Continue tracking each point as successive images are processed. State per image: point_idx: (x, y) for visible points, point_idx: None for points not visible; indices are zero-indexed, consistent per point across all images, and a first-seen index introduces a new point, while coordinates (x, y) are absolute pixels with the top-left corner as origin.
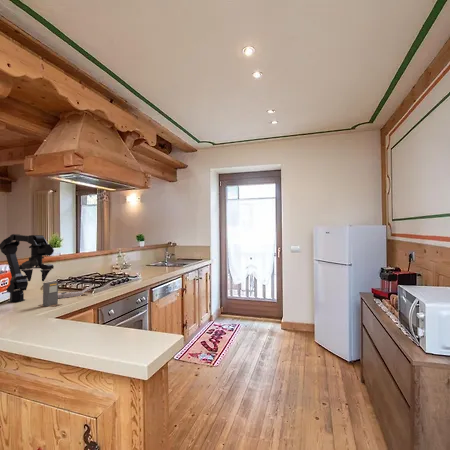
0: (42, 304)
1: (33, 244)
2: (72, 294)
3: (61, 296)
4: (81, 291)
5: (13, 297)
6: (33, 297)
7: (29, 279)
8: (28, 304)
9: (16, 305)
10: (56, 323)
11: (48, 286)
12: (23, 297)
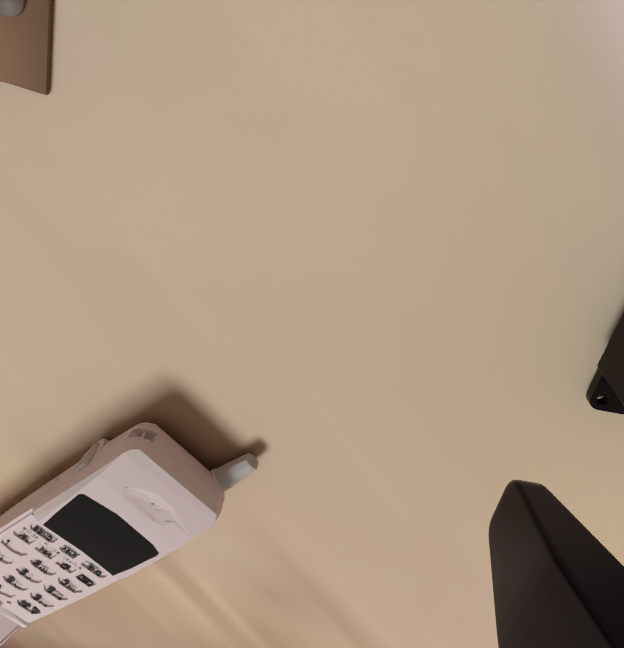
0: (36, 3)
1: None
2: (5, 516)
3: (95, 455)
4: (13, 628)
5: None
6: None
7: (520, 558)
8: (343, 75)
9: (538, 4)
10: None
11: None
12: (613, 386)
